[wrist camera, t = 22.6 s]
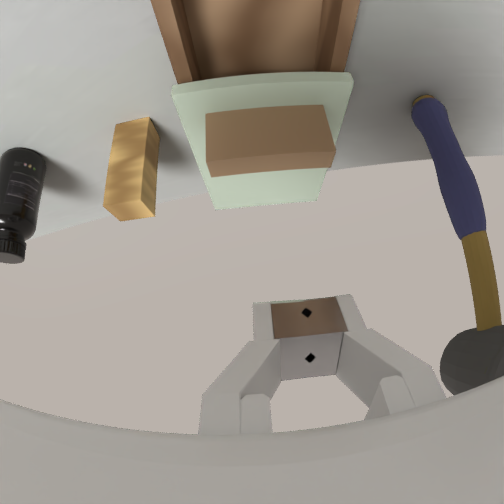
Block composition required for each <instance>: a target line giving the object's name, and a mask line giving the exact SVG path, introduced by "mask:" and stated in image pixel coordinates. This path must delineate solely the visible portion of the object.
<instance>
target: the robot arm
mask: <svg viewBox="0 0 504 504" xmlns="http://www.w3.org/2000/svg"><path fill="white" fill-rule="evenodd" d="M253 330H254V341H249V342H248V343H247V344H246V345H245V347H244V348H243V349H242V350H241V351H240V352H239V354H238V355H237V356H236V357H235V358H234V359H233V360H232V362H231V363H230V364H229V365H228V366H227V367H226V368H225V370H224V371H223V372H222V373H221V374H220V375H219V377H218V378H217V379H216V380H215V381H214V382H213V383H212V384H211V385H210V387H209V388H208V389H207V390H206V391H205V392H204V393H203V395H202V404H201V413H200V422H199V432H198V434H176V433H175V434H174V433H161V432H149V431H139V430H130V429H123V428H117V427H110V426H104V425H98V424H92V423H87V422H82V421H77V420H72V419H68V418H63V417H59V416H54V415H51V414H47V413H43V412H39V411H36V410H32V409H29V408H26V407H22V406H19V405H16V404H12V403H10V402H6V401H4V400H1V399H0V504H504V376H502V377H500V378H497V379H495V380H493V381H490V382H488V383H486V384H483V385H481V386H478V387H476V388H473V389H471V390H468V391H465V392H463V393H460V394H457V395H454V396H451V397H449V398H446V396H445V394H444V391H443V389H442V388H441V385H440V383H439V381H438V379H437V377H436V375H435V373H434V371H433V369H432V367H431V366H430V365H429V364H427V363H425V362H424V361H422V360H421V359H419V358H417V357H416V356H414V355H413V354H411V353H410V352H408V351H406V350H405V349H403V348H402V347H400V346H399V345H397V344H395V343H394V342H392V341H391V340H389V339H387V338H386V337H384V336H383V335H381V334H380V333H378V332H376V331H375V330H373V329H367V328H366V326H365V323H364V321H363V319H362V317H361V314H360V312H359V310H358V308H357V305H356V303H355V301H354V299H353V297H352V295H350V294H347V295H339V296H334V297H326V298H317V299H306V300H290V301H272V302H259V303H253ZM327 375H336V376H337V377H338V378H339V379H340V380H341V381H342V382H343V383H344V384H345V385H346V386H347V387H348V388H349V389H350V390H351V391H352V392H353V393H354V394H355V395H356V396H357V397H359V399H360V400H361V401H363V402H364V403H365V404H366V405H367V406H368V407H369V410H368V412H367V415H366V417H365V419H364V420H363V421H358V422H353V423H348V424H342V425H335V426H330V427H322V428H315V429H307V430H298V431H289V432H277V433H272V423H271V410H270V400H271V398H272V397H273V395H274V393H275V391H276V390H277V388H278V386H279V385H280V383H281V381H283V380H291V379H300V378H307V377H317V376H327Z"/></svg>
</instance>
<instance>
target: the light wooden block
mask: <svg viewBox="0 0 504 504" xmlns="http://www.w3.org/2000/svg"><path fill="white" fill-rule="evenodd" d="M159 142H160V137H159V135H158V133H157V131H156V129H155V127H154V125H153V123H152V121H151V119H150V117H146V118H142V119H137V120H133V121H129V122H124V123H120V124H116V126H115V131H114V136H113V142H112V147H111V153H110V159H109V165H108V172H107V179H106V186H105V194H104V202H103V207H104V208H106V209H107V210H108V211H109V212H110V213H111V214H112V215H114V216H115V217H116V218H117V219H118V220H119V221H126V220H133V219H140V218H147V217H154V216H155V203H156V183H157V167H158V154H159Z"/></svg>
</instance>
